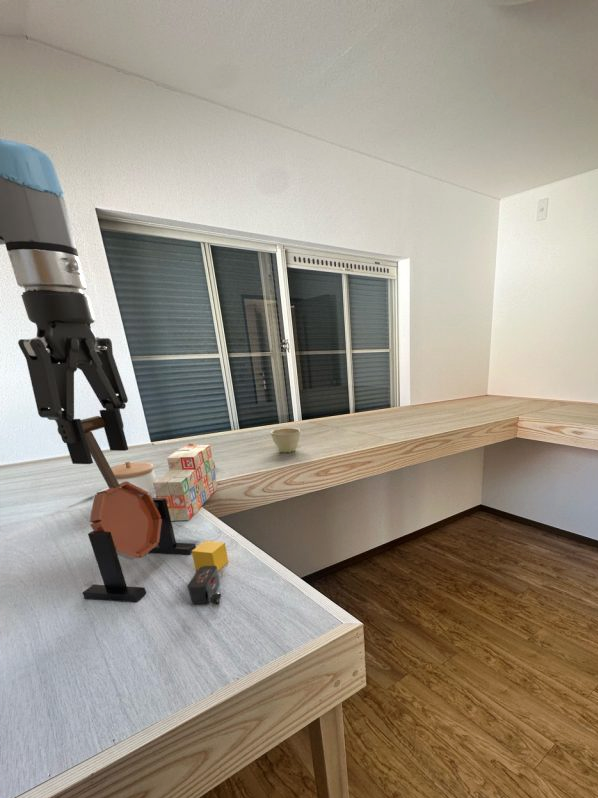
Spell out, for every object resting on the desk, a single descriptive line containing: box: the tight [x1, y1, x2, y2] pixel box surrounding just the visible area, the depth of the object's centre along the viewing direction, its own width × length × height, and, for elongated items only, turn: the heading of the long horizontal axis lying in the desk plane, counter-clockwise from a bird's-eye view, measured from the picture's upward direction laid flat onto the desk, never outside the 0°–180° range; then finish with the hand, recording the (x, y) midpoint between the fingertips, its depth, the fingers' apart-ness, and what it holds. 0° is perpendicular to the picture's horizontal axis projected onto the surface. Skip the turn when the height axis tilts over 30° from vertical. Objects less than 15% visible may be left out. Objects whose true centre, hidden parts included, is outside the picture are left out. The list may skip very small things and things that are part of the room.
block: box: [191, 540, 229, 572], centre depth 74 cm, size 4×4×4 cm
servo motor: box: [187, 566, 222, 606], centre depth 66 cm, size 5×7×3 cm, turn 3°
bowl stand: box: [81, 497, 197, 603], centre depth 71 cm, size 9×18×11 cm, turn 173°
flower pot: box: [270, 427, 301, 453], centre depth 147 cm, size 10×10×7 cm
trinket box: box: [110, 461, 156, 495], centre depth 105 cm, size 11×11×9 cm
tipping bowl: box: [57, 415, 162, 560], centre depth 67 cm, size 23×13×2 cm
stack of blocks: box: [153, 444, 218, 522], centre depth 100 cm, size 21×6×12 cm, turn 4°
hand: (102, 456), depth 65 cm, fingers closed on tipping bowl, 7 cm apart
